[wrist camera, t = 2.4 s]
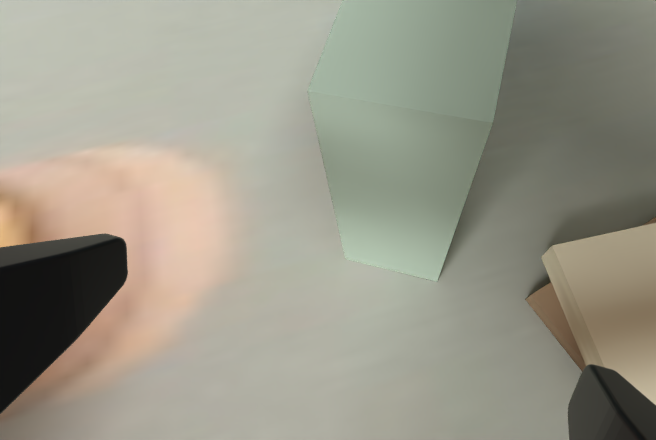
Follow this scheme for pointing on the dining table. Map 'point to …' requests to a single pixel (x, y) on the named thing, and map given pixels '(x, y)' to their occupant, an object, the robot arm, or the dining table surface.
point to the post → (407, 121)
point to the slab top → (611, 300)
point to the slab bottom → (558, 318)
